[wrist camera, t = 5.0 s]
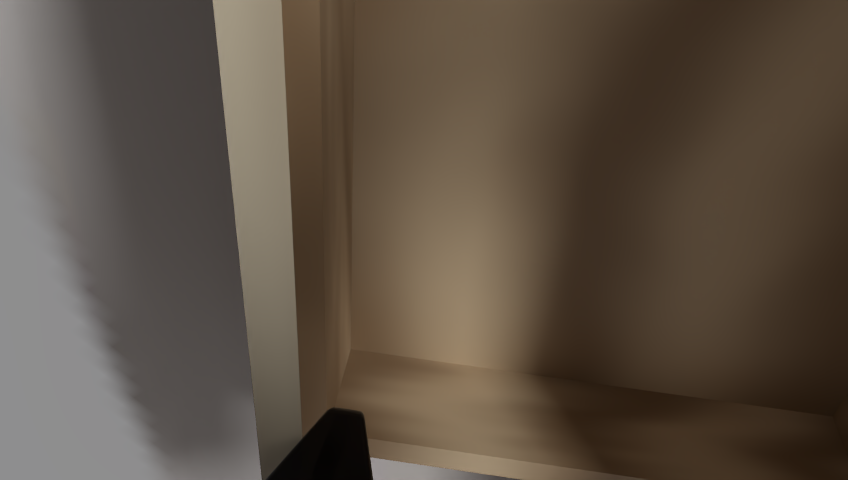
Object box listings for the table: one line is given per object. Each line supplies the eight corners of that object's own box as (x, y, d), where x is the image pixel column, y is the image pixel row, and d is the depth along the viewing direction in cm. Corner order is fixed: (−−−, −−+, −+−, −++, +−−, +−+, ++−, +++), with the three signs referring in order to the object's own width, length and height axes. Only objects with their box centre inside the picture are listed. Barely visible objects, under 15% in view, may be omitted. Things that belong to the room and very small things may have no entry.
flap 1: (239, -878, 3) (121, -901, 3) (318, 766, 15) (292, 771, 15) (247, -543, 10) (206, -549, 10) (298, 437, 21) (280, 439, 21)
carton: (1367, -454, 12) (1678, -498, 8) (841, 417, 24) (887, 533, 20) (321, -526, 13) (244, -589, 9) (331, 345, 25) (299, 446, 21)
